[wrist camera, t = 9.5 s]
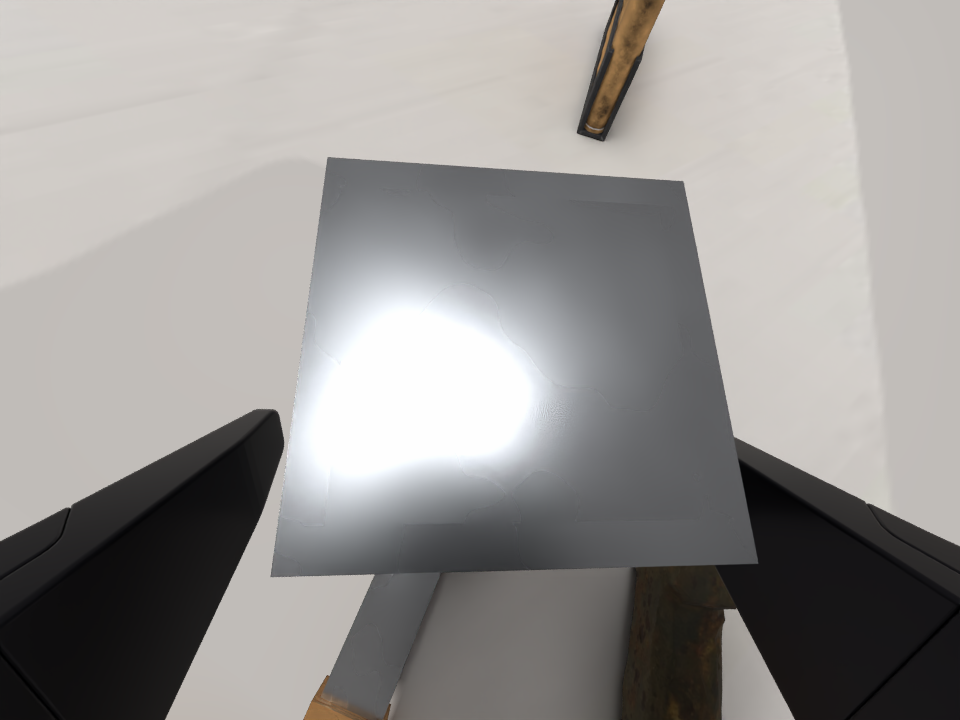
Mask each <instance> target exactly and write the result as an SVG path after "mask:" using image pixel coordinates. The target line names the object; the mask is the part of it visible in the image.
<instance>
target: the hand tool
mask: <svg viewBox="0 0 960 720" xmlns="http://www.w3.org/2000/svg"><path fill="white" fill-rule="evenodd" d="M635 568H636V572H637V580H636V587H635V603H634V611H633V618H632V625H631V632H630V641H629V651H628V660H627V664H626V667H625V673H624V680H623V689H622V696H623V707H622V719H621V720H722V715H721V707H722V627H723V623H724V621H725V617H724V609H736V606H735V604H734V602H733V600H732V598H731V596H730V594H729V592H728V590H727V588H726V586H725V585H724V583H723V581H722V579H721V577H720V575H719V573H718V571H717V569H716V567H715V565H692V566H655V567H635Z"/></svg>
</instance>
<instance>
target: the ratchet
mask: <svg viewBox="0 0 960 720" xmlns="http://www.w3.org/2000/svg"><path fill="white" fill-rule="evenodd" d="M440 574H441V572H437V573H401V574H375V576H374V578H373V580H372V582H371V585H370V587H369V589H368V591H367V594H366V596H365V598H364V600H363V603H362V605H361V607H360V609H359V612H358V614H357V616H356V618H355V620H354V623H353V625H352V627H351V629H350V632H349V634H348V636H347V638H346V641H345V643H344V645H343V647H342V650H341V652H340V654H339V656H338V659H337V661H336V663H335V665H334V668H333V670H332V672H331V675H330V676H328V675H327V676H326V678H325V679H324V681H323V683H322V685H321V686H320V688H319V690H318V691H317V693H316V695H315V696H314V698H313V700H312V701H311V704H310V706H309V708H308V710H307V713H306V715H305V717H304V719H303V720H388V715H389V711H390V706H391V704H389V703H390V700H391V698H392V695H393V693H394V690H395V688H396V685H397V683H398V680H399V678H400V675H401V673H402V670H403V668H404V665H405V662H406V660H407V657H408V655H409V652H410V650H411V647H412V645H413V642H414V640H415V637H416V635H417V632H418V630H419V627H420V625H421V622H422V620H423V617H424V615H425V612H426V609H427V607H428V604H429V602H430V599H431V597H432V594H433V592H434V589H435V587H436V584H437V582H438V579H439V577H440Z"/></svg>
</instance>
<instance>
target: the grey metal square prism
mask: <svg viewBox="0 0 960 720" xmlns="http://www.w3.org/2000/svg"><path fill="white" fill-rule="evenodd" d="M728 564H759V563H758V558H757V553H756V548H755V543H754V538H753V533H752V528H751V523H750V518H749V513H748V508H747V502H746V497H745V492H744V487H743V482H742V477H741V472H740V467H739V462H738V457H737V452H736V447H735V441H734V436H733V431H732V426H731V421H730V416H729V411H728V406H727V401H726V396H725V391H724V386H723V380H722V375H721V370H720V365H719V360H718V355H717V350H716V345H715V340H714V335H713V330H712V325H711V319H710V314H709V309H708V304H707V299H706V294H705V289H704V284H703V279H702V274H701V269H700V264H699V258H698V253H697V248H696V243H695V238H694V233H693V228H692V223H691V218H690V213H689V208H688V203H687V197H686V192H685V187H684V182H683V181H670V180H655V179H640V178H626V177H611V176H596V175H581V174H567V173H552V172H537V171H522V170H508V169H493V168H478V167H463V166H449V165H434V164H419V163H405V162H390V161H375V160H360V159H346V158H331V157H328V159H327V166H326V173H325V181H324V188H323V196H322V203H321V210H320V218H319V225H318V233H317V239H316V247H315V255H314V262H313V269H312V276H311V284H310V291H309V298H308V306H307V314H306V320H305V328H304V336H303V342H302V350H301V357H300V365H299V372H298V379H297V387H296V394H295V401H294V409H293V416H292V423H291V431H290V438H289V446H288V453H287V461H286V467H285V475H284V482H283V490H282V497H281V505H280V512H279V519H278V527H277V534H276V541H275V549H274V556H273V563H272V571H271V577H291V576H327V575H328V576H329V575H364V574H401V573H437V572H474V571H510V570H546V569H583V568H619V567H655V566H692V565H728Z"/></svg>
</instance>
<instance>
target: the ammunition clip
mask: <svg viewBox="0 0 960 720" xmlns="http://www.w3.org/2000/svg"><path fill="white" fill-rule="evenodd" d="M664 2H665V0H616V1H615V3H614V6H613V9H612V12H611V14H610V17H609V20H608V23H607V26H606V28H605V32H604V35H603V39H602V43H601V46H600V50H599V53H598V57H597V61H596V64H595V68H594V72H593V75H592V79H591V83H590V86H589V90H588V94H587V97H586V101H585V104H584V108H583V112H582V115H581V119H580V123H579V126H578V130H577V133H579V134H583V135H586V136H589V137H592V138H596V139H599V140H602V141H604V140H605V138H606V136H607V133H608V131H609V129H610V127H611V125H612V123H613V121H614V118H615V116H616V114H617V112H618V110H619V108H620V105H621V103H622V101H623V99H624V97H625V95H626V92H627V90H628V88H629V86H630V84H631V82H632V80H633V77H634V75H635V73H636V71H637V69H638V67H639V64H640V62H641V60H642V55H643V51H644V46H645V43H646V41H647V39H648V37H649V34H650V32H651V30H652V28H653V26H654V24H655V21H656V19H657V17H658V15H659V13H660V10H661V8H662V6H663V4H664Z"/></svg>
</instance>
